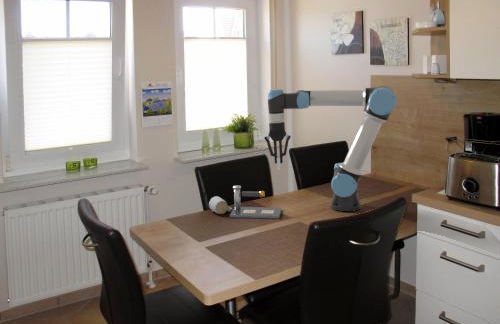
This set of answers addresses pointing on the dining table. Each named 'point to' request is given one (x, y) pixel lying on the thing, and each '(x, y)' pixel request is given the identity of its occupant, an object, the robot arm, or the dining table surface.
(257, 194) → the swing arm
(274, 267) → the dining table surface
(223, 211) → the ceramic mug
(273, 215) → the grey base with post
